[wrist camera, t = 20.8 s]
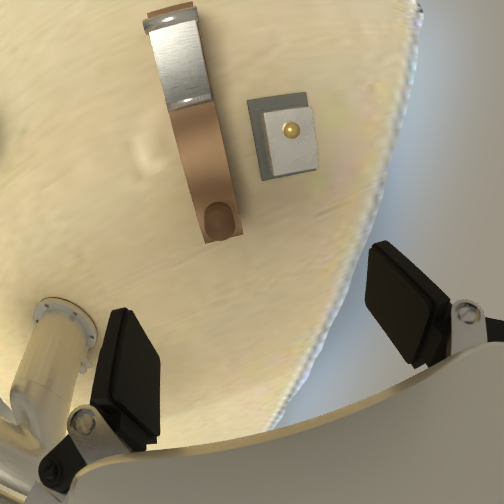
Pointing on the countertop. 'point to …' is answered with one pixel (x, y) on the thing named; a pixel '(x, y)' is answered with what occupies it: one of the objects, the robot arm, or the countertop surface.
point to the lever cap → (288, 139)
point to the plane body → (205, 162)
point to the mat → (253, 108)
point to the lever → (179, 57)
